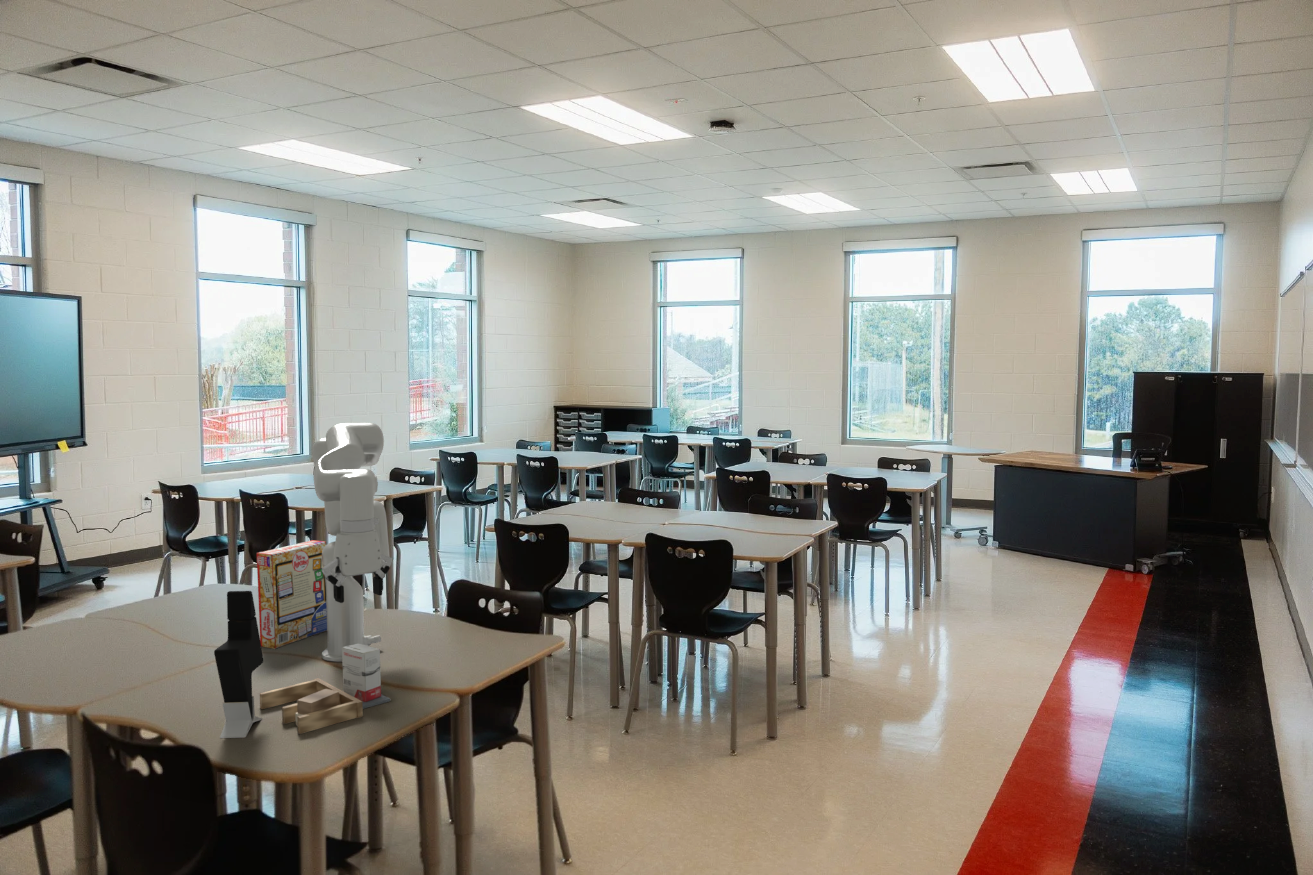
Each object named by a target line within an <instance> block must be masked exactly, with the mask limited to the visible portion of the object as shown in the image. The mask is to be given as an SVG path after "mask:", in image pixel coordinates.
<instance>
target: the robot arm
mask: <svg viewBox="0 0 1313 875" xmlns="http://www.w3.org/2000/svg"><path fill="white" fill-rule="evenodd" d="M384 443H385V440H384V434H383V431H382V428H381V427H380V426H379V425H378V424H376V423H375V422H345V423H344V422H342V423H337V424H335V425H332V426H331V427H330V428H328V430H327V432H326V434H325V437H324V438H323V437H321V438H320V439H317V440H316V441H314V443H313V445H312V447H311V455H312V456H311V457H312V462H313V466H314V468H313V484H314V492H315V494H316V496H317V498H318V500H319V501H320V500H321V501H322V502H324V505H323V506H324V518H325V519H324V520H325V527H326V530H327V533H328V534H329V535H331V536H333V537H335V541H331V542H329V543H326V546H325V547H324V548H323V550H322V563H323V568H322V572H323V574H324V575H325V582H326V605H327V631H326V635H327V636H326V637H327V638H326V639H327V642H326V643H327V648H325V649H324V650H323V651H322V652H321V658H322V659H323V660H325V661H327V662H342V648H343V647H345V646H350V645H354V644H362V645H366V646H371V644H377V643H380V642H382V637H381V635H380V634H378V635H374V636H373V635H370V634H369V635H365V622H364V621H365V620H364V619H365V618H364V616H365V615H364V614H365V613H364V590H363V587H362V586H361V585H360V583H359V582H358V581H357V580H356V579H355V578H354V576H361V575H367V574H369V575H370V574H373V575H374V576H373V578H372V590H373V591H372V593H373V594H374V595H376V596H382V595H383V591H384V578H386V574H387V573H388V572H389V570H390V569H391V566H392V562H393V561H394V558H393V557H390V546H389V534H388V522H387V520H388V519H387V513H386V508H385V506H384V505H383V503H382V502H381V501H380V500H375V499H374V496H375V494H376V493H377V491H378V485H379V482H378V476H377V475H376V473H375V472H373V471H372V470H370V469H368V468H362V467H373V466H376V465H377V464H378V462H379V461H380V459H381V458H380V457H381V455H382V453H383V450H384Z"/></svg>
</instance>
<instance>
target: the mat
mask: <svg viewBox="0 0 1313 875" xmlns="http://www.w3.org/2000/svg"><path fill="white" fill-rule="evenodd" d="M389 702H391V698H390V697H388V696H386V695H384V694H382V693H381V697H378V698H375V699H373V700H370V701H367V702H363V701H362V705H363V709H364V710H365V709H367V708H371V707H374V706H377V705H381V704H386V703H389Z"/></svg>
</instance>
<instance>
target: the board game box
mask: <svg viewBox="0 0 1313 875" xmlns="http://www.w3.org/2000/svg"><path fill="white" fill-rule="evenodd" d="M326 545H327V541H324V540H323V541H322V540H313V539H312V540H308V541H303V542H299V543H295V544H290V545H287V546H282V547H279V548H273V549H268V550H264V551H259V552H256V573H257V593H258V595H257V596H258V620H259V637H260V643H261V648H262V647H263V648H269V649H273V650H276V649H277V648H281V647H284V646H286V645H288V644H292V643H294V642H298V641H300V640H305V638H309V637H311V636H314V635H315V636H316V635H317V634H320V633H323V632H327V605H326V582H325V575H324V574H323V572H322V568H323V563H322V550H323V548H324V547H325V546H326Z"/></svg>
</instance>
